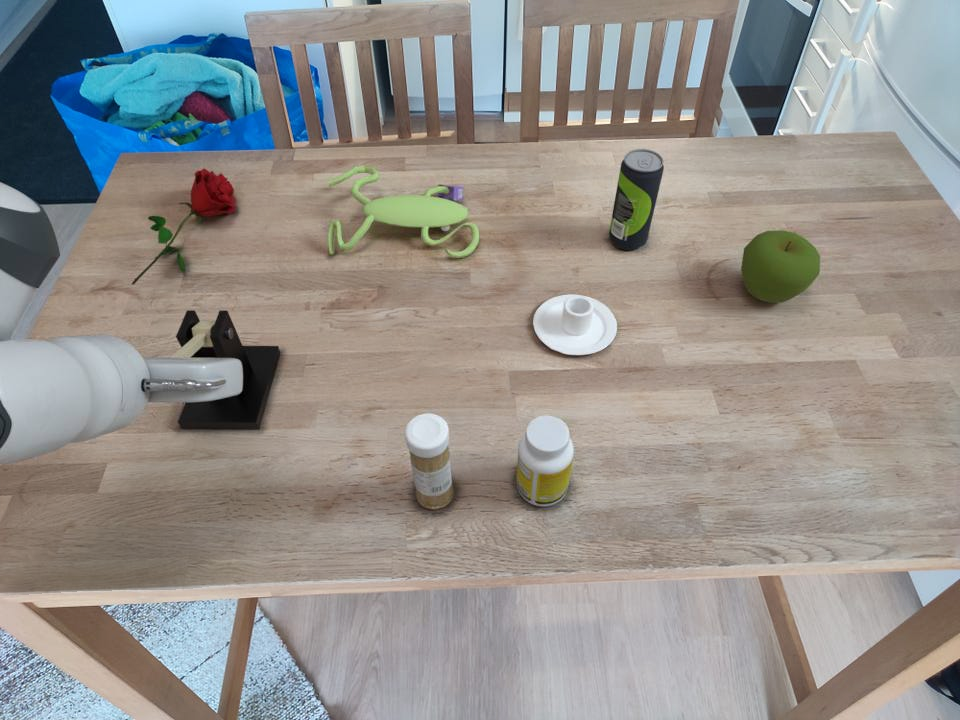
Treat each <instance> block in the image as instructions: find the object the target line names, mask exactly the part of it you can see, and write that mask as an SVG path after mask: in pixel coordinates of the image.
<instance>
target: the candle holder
mask: <svg viewBox="0 0 960 720" xmlns="http://www.w3.org/2000/svg"><path fill="white" fill-rule="evenodd" d="M532 320H533V321H532V324H533V329H534V332H535V334H536V336H537V337H538V339H539V340H540V341H541V342H542V343H543V344H544V345H545V346H547V347H548V348H549V349H551V350H552V351H556V352H559V353H561V354H564V355H567V356H568V355H569V356H570V355H571V356H585V355H591V354H596V353H598V352H600V351H602V350H603V349H605V348H607V347H608V346H609V345H611V343H612V342H613V341H614V340H615V338H616V335H617V332H618V323H617V320H616V316H615V315H614V313H613V312H612V310H611V309H610V308H609V307H608V306H606V304H604V303H603V302H601V301H600V300H598V299H595V298H594V297H593V298H592V297H590V296H587V295H582V294H574V293H573V294H561V295H557V296H554V297H551V298H549V299H547V300H546V301H544V302H542V303H541V304H540V305H539V307H538V308H537V309H536V311H535V312H534V315H533V318H532Z"/></svg>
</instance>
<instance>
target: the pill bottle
mask: <svg viewBox="0 0 960 720" xmlns="http://www.w3.org/2000/svg"><path fill="white" fill-rule="evenodd" d="M570 433H571V432H570V429H569V427H568V425H567V424H566V423H565V422H564V421H563V420H562V419H560V418H559V417H556V416H555V415H546V414H545V415H539V416H537V417H535V418H533V419H532V420H531V421H530V422H529V423H528V424H527V426H526V429H525V432H524V433H523V434H522V436H521V437H520V439H519V441H518V445H517V463H516V488H517V491H518V494H519V495H520V496H521V498H523V500H524V501H526V502H527V503H529V504H531V505H534V506H537V507H544V508H545V507H551V506H553V505H556V504H558V503H559V502H561V501H562V500H563V499H564V497H565V496H566V495H567V493H568V489H569V485H570V481H571V473H572V468H573V461H574V455H575V447H574V443H573V441H572V439H571V437H570V435H571V434H570Z"/></svg>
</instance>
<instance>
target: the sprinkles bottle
mask: <svg viewBox="0 0 960 720" xmlns="http://www.w3.org/2000/svg"><path fill="white" fill-rule="evenodd" d="M404 438H405V444H406V447H407V449H408V450H409V451H408V452H409V460H410V465H411V471H412V477H413V483H414V486H415V496H416V500H417V502H418V503H419V504H420V506H421V507H423V508H425V509H428V510H432V511H433V510H434V511H436V510H441V509H443V508H445V507H447V506H448V505H449V504H450V503H451V502H452V500H453V498H454V494H455V489H454V485H453V472H452V462H451V453H450V447H449V446H450V445H449V444H450V440H451V439H450V428H449V425H448V423H447V421H446V420H445V419H444V418H443V417H441V416H440V415H438V414H435V413H428V412H427V413H426V412H425V413H420V414H418V415H415V416H414V417H413V418H411V419H410V420H409V422H408V423H407V425H406V426H405V430H404Z"/></svg>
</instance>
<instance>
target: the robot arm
mask: <svg viewBox="0 0 960 720" xmlns="http://www.w3.org/2000/svg"><path fill="white" fill-rule="evenodd" d="M60 257H61V251H60V247H59V243H58V239H57V236H56V233H55V230H54V227H53V224H52V222H51V220H50V218H49V216H48V214H47V212H46V211H45V209H44V207H43V206H42V205H41V204H40V203H38V202H37V201H36V200H34V199H33V198H31V197H29V196H27V195H26V194H24V193H23V192H21V191H19V190H17V189H15V188H14V187H12V186H10V185H8V184H6V183H3V182H1V181H0V466H5V465H10V464H14V463H19V462H23V461H27V460H31V459H33V458H37V457H41V456H44V455H46V454H50V453H53V452H56V451H58V450H60V449H62V448H64V447H66V446H67V445H69V444H76V443H77V444H78V443H82V442H86V441H89V440H93V439H96V438H98V437H102V436H105V435H108V434H111V433H114V432H116V431H120V430H123V429H125V428H127V427H129V426H130V425H131V424H133V423H135V422H136V421H137V420H138V419H139V418H140V416H141V415H142V414H143V413H144V411H145V409H146V407H147V405H148V404H149V403H185V402H204V401H212V400H218V399H222V398H227V397H231V396H235V395H238V394H240V393H241V392H242V388H243V369H242V363H241V361H240V360H238V359H235V358H172V356H170V357H167V356H166V357H163V356H162V357H155V356H152V357H151V356H150V357H149V356H146V357H145V356H142V354H141V353H139V351H138V350H137V349H136V348H135V347H134V346H133V345H131V343H129V342H127V341H126V340H124V339H122V338H119V337H117V336H115V335H114V336H113V335H110V334H103V333H94V334H81V335H66V336H56V337H52V338H48V339H45V340H44V339H43V340H42V339H36V338H21V339H20V338H19V339H12V338H11V337H12V335H13V333H14V332H15V330H16V328H17V326H18V324H19V322H20V320H21V319H22V316H23V315H24V312H25V310H26V308H27V307H28V304H29V303H30V301H31V299H32V297H33V295H34V293H35V291H36V289H39V288H40V287H41V285H42V284H43V282H44V281H45V279H46V278H47V276H48V275H49V273H50V272H51V271H52V269H53V267H54V266H55V264H56V263H57V261H58V260H59V258H60Z"/></svg>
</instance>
